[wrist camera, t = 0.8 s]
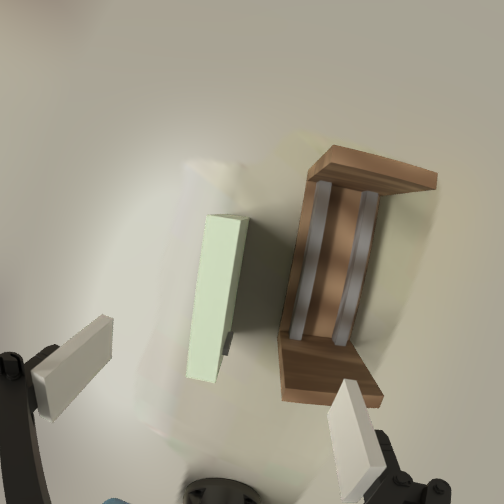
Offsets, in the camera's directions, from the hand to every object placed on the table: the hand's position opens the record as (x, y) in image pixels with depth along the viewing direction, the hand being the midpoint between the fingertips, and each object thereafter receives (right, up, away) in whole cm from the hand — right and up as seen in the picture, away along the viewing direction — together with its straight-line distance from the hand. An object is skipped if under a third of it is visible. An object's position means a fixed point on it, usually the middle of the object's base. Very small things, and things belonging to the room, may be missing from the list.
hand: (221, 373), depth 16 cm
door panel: (-2, +3, +26) cm, 27 cm away
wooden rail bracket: (+12, +5, +25) cm, 29 cm away
